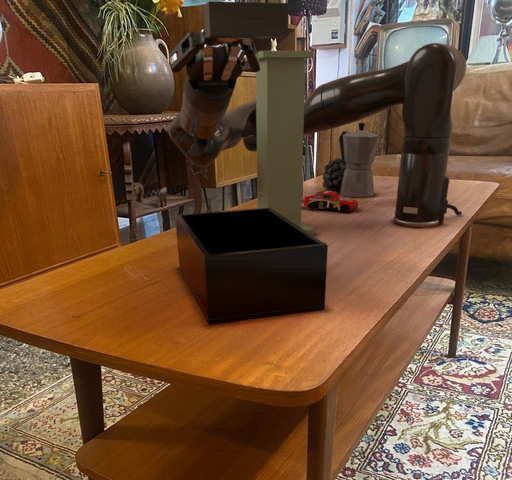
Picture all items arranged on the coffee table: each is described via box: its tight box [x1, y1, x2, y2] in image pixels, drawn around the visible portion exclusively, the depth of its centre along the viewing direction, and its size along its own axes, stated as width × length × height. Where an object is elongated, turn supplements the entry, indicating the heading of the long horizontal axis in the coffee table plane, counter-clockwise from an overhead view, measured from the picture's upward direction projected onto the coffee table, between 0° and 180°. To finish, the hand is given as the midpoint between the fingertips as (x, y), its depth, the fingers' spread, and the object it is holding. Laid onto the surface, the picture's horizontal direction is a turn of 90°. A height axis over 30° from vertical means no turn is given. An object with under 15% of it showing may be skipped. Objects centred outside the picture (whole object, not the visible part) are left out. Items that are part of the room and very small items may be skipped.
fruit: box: [321, 157, 346, 192], centre depth 144 cm, size 9×8×15 cm
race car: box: [302, 190, 359, 214], centre depth 123 cm, size 13×5×4 cm, turn 64°
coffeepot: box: [338, 122, 381, 199], centre depth 137 cm, size 15×9×18 cm, turn 28°
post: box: [255, 50, 315, 236], centre depth 99 cm, size 11×11×32 cm
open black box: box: [174, 208, 329, 326], centre depth 74 cm, size 24×16×9 cm, turn 16°
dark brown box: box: [203, 0, 289, 46], centre depth 64 cm, size 16×9×3 cm, turn 16°
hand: (227, 18), depth 65 cm, fingers closed on dark brown box, 2 cm apart
